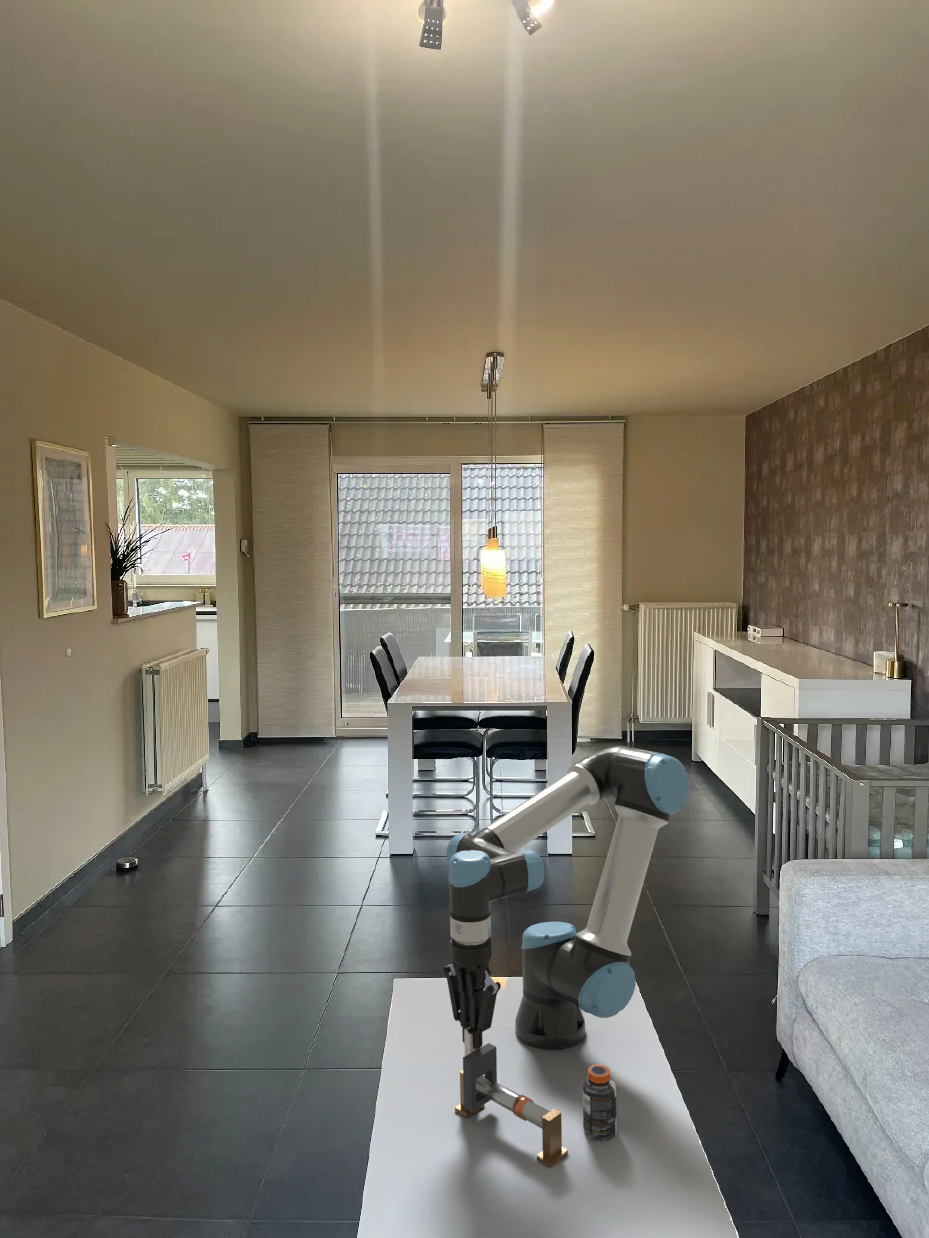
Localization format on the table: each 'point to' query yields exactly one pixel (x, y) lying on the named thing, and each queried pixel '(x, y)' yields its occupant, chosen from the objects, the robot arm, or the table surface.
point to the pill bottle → (599, 1104)
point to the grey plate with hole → (478, 1074)
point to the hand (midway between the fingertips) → (472, 1061)
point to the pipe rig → (522, 1116)
